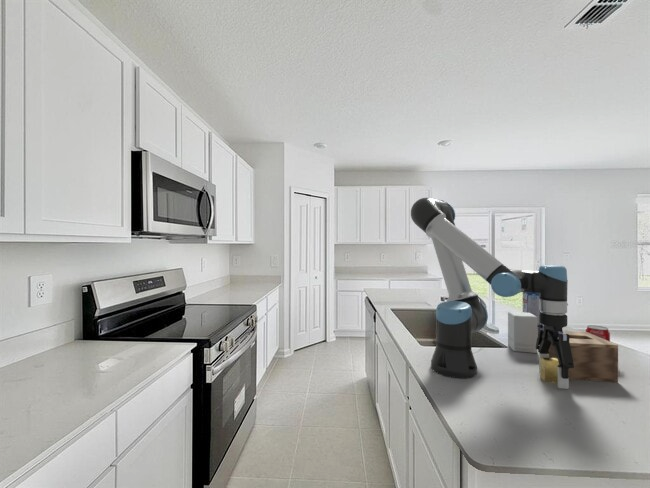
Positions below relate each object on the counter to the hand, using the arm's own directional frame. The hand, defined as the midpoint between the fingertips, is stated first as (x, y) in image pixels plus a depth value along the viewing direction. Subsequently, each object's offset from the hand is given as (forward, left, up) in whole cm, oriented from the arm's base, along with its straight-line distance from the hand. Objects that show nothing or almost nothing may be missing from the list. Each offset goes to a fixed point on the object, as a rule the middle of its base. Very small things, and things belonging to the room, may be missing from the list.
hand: (553, 380), depth 106 cm
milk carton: (+27, +79, 0) cm, 83 cm away
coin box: (+12, +10, 0) cm, 16 cm away
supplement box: (+4, +33, 0) cm, 33 cm away
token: (0, 0, 0) cm, 0 cm away
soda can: (+26, +22, 0) cm, 34 cm away
